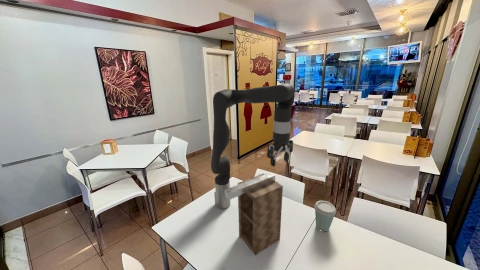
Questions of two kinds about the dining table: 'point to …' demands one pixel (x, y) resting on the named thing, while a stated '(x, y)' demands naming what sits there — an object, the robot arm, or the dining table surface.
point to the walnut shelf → (260, 215)
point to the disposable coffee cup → (324, 215)
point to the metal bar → (249, 186)
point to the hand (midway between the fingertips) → (279, 163)
